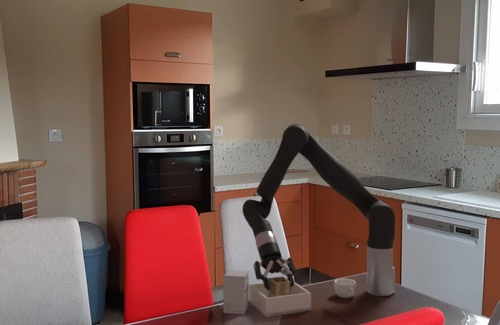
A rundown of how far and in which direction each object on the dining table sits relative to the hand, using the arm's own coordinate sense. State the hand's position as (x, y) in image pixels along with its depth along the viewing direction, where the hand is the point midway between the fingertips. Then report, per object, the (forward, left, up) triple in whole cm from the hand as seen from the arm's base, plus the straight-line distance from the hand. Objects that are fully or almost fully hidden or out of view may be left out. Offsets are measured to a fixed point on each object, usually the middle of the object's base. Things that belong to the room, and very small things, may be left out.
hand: (280, 287), depth 170 cm
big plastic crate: (0, -1, -7) cm, 7 cm away
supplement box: (+15, -3, -7) cm, 17 cm away
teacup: (-26, -1, -7) cm, 27 cm away
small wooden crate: (0, -1, -6) cm, 6 cm away
